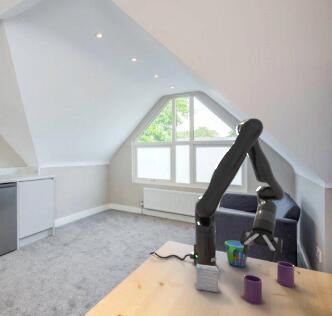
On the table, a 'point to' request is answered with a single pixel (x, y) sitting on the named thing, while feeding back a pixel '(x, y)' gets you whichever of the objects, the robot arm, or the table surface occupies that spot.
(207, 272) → the medicine box
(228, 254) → the snack cup
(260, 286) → the plum cup
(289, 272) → the plum cup
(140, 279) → the table surface
